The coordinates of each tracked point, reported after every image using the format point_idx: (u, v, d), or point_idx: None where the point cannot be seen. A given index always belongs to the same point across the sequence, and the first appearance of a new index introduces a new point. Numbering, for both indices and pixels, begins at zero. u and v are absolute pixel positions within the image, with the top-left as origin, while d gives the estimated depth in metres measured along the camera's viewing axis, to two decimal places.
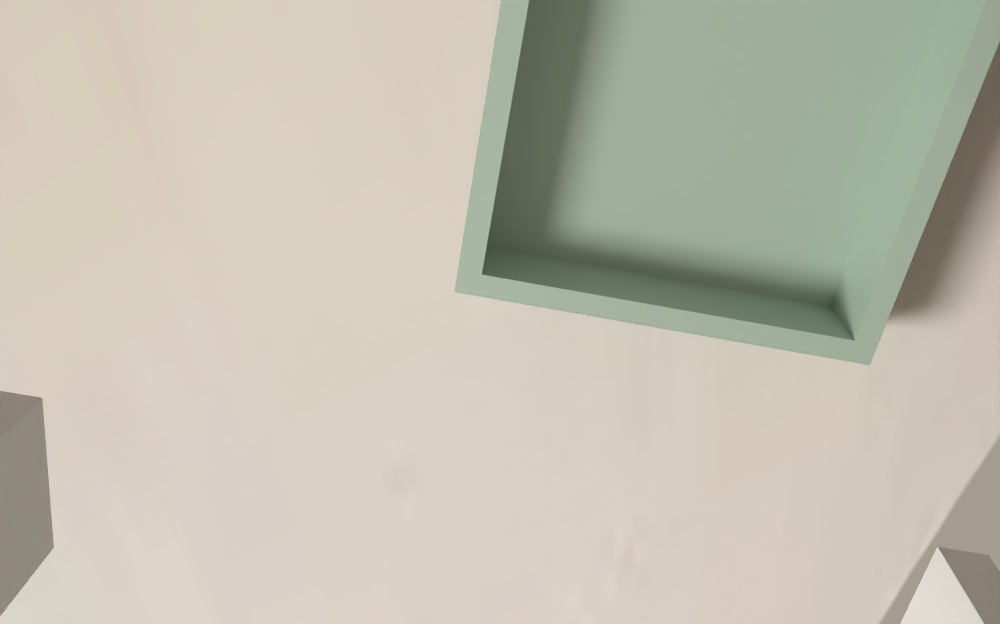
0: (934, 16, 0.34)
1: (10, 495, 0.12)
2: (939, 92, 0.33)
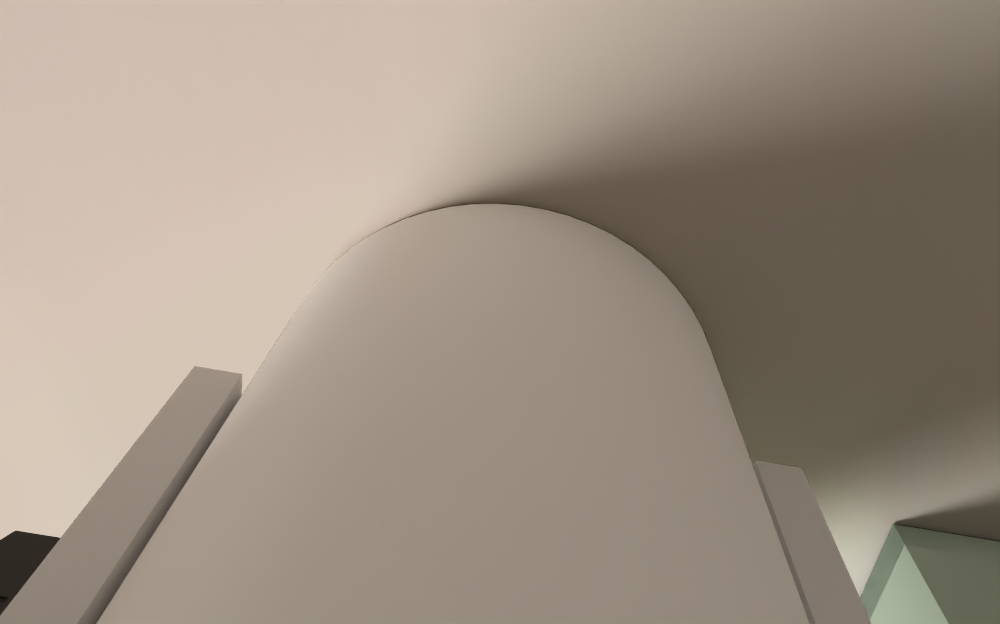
0: None
1: None
2: None
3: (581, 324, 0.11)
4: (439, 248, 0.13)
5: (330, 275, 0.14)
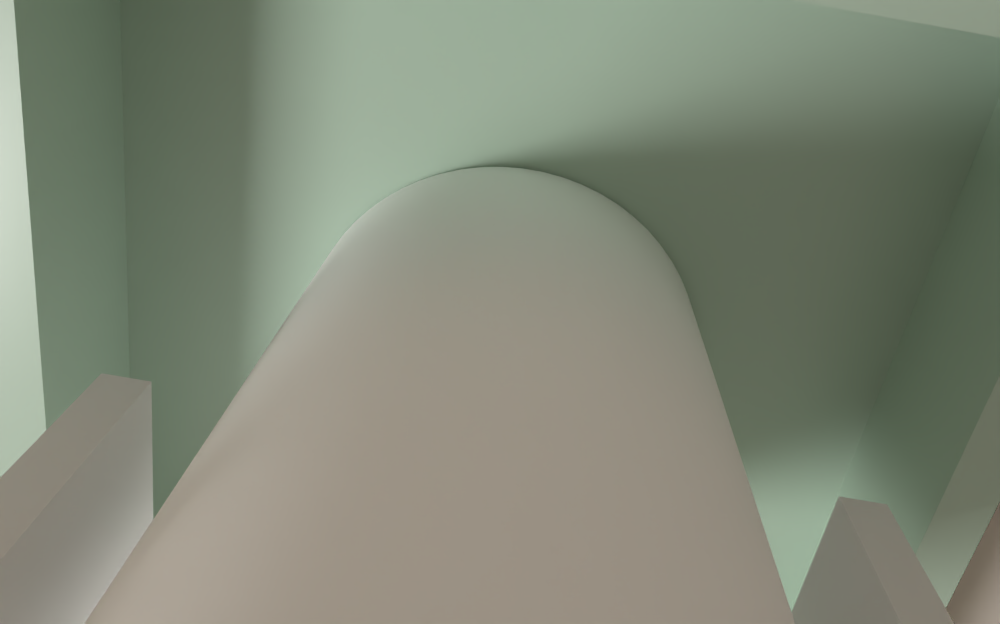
0: (948, 202, 0.17)
1: (125, 472, 0.13)
2: (960, 379, 0.15)
3: (570, 258, 0.13)
4: (451, 201, 0.15)
5: (356, 227, 0.16)
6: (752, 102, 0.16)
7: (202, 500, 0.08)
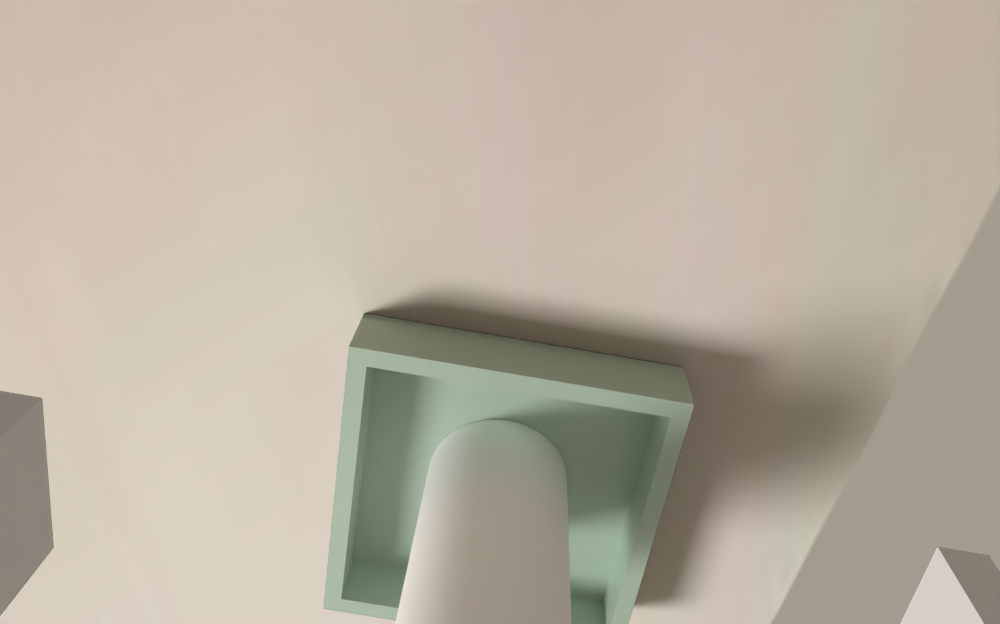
0: (647, 432, 0.49)
1: (10, 495, 0.12)
2: (643, 494, 0.48)
3: (518, 465, 0.46)
4: (483, 439, 0.48)
5: (450, 441, 0.49)
6: (579, 402, 0.49)
7: (439, 537, 0.41)
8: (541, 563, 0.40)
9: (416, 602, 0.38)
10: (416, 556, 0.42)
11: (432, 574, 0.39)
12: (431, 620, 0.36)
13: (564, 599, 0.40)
